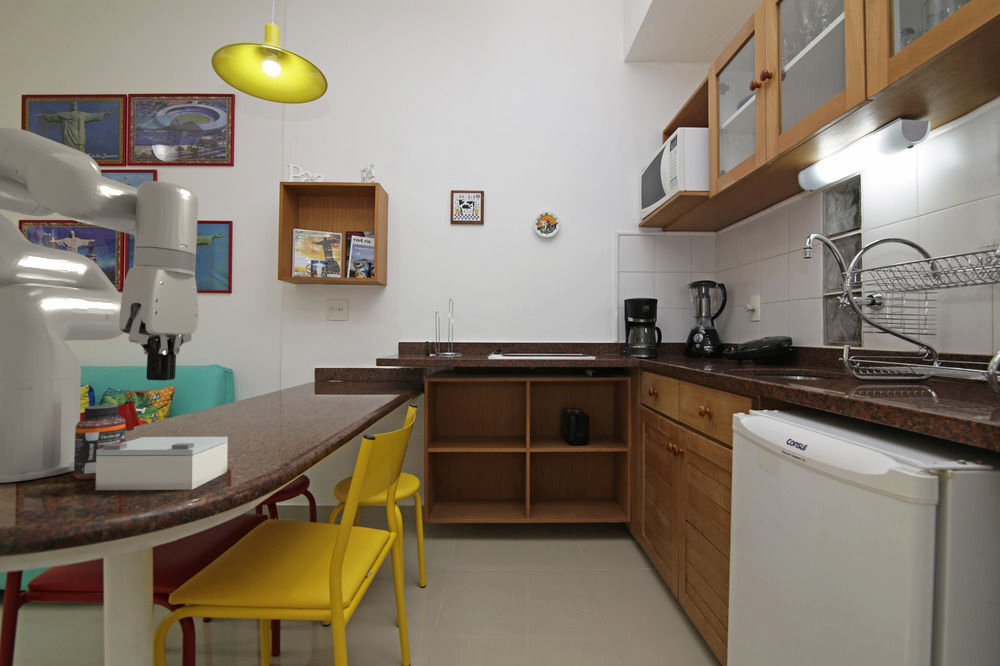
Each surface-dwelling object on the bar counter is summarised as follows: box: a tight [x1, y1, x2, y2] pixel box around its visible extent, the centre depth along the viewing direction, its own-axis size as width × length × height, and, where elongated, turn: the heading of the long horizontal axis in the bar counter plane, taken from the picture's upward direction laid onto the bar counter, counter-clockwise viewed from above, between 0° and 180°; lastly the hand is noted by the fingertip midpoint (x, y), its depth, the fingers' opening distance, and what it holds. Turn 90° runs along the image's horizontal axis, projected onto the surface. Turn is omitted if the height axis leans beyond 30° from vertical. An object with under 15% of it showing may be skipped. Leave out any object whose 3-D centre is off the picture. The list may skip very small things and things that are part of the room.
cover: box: [96, 436, 228, 455], centre depth 64 cm, size 14×8×1 cm, turn 91°
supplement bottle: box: [73, 404, 127, 480], centre depth 66 cm, size 6×6×11 cm
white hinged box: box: [95, 441, 229, 491], centre depth 64 cm, size 14×8×5 cm, turn 91°
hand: (160, 379), depth 64 cm, fingers closed
